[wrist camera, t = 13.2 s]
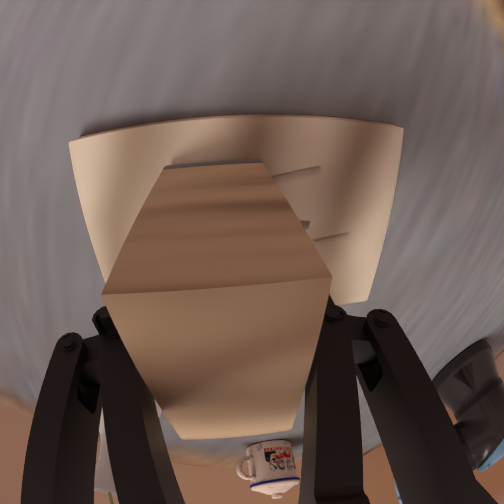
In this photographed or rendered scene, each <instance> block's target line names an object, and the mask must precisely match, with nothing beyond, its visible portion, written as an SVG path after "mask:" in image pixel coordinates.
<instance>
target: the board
mask: <svg viewBox="0 0 504 504" xmlns="http://www.w3.org/2000/svg"><path fill="white" fill-rule="evenodd" d="M403 132H404V128H401V127H398V126H395V125H392V124H386V123H379V122H372V121H364V120H356V119H347V118H336V117H324V116H307V115H274V114H260V115H226V116H210V117H197V118H186V119H177V120H169V121H161V122H154V123H147V124H141V125H135V126H129V127H123V128H118V129H113V130H108V131H103V132H99V133H94V134H90V135H86V136H82V137H78V138H76V139H74V140H72V141H70V142H69V148H70V154H71V160H72V165H73V171H74V175H75V180H76V185H77V189H78V194H79V198H80V202H81V206H82V210H83V214H84V217H85V221H86V225H87V228H88V231H89V235H90V238H91V241H92V245H93V248H94V251H95V254H96V257H97V260H98V263H99V266H100V269H101V272H102V274H103V277H104V280H105V282H107V280H108V277H109V275H110V273H111V270H112V268H113V266H114V263H115V261H116V259H117V257H118V255H119V252H120V250H121V248H122V246H123V244H124V242H125V240H126V237H127V235H128V233H129V231H130V229H131V227H132V225H133V223H134V221H135V219H136V217H137V215H138V213H139V212H140V210H141V208H142V206H143V204H144V202H145V200H146V198H147V197H148V195H149V193H150V191H151V189H152V187H153V186H154V184H155V182H156V180H157V179H158V177H159V175H160V173H161V172H162V170H163V168H164V167H165V166H168V165H177V164H187V163H199V162H212V161H227V160H247V159H261V161H262V162H263V164H264V165H265V167H266V168H267V170H268V172H269V173H270V175H271V176H272V178H273V179H274V181H275V182H276V184H277V185H278V187H279V189H280V190H281V192H282V193H283V195H284V196H285V198H286V200H287V201H288V203H289V204H290V206H291V208H292V209H293V211H294V212H295V214H296V216H297V217H298V219H299V221H300V222H301V224H302V225H303V227H304V229H305V230H306V232H307V234H308V235H309V237H310V239H311V240H312V242H313V244H314V245H315V247H316V249H317V251H318V252H319V254H320V256H321V257H322V259H323V261H324V263H325V264H326V266H327V268H328V270H329V271H330V273H331V275H332V277H333V278H332V282H331V287H330V292H329V294H330V296H331V298H332V300H333V302H334V304H335V305H342V304H349V303H355V302H362V301H367V299H368V296H369V293H370V290H371V287H372V283H373V280H374V276H375V273H376V270H377V266H378V262H379V259H380V255H381V251H382V247H383V243H384V239H385V235H386V231H387V227H388V222H389V218H390V213H391V208H392V203H393V198H394V193H395V188H396V182H397V176H398V170H399V163H400V156H401V149H402V141H403Z"/></svg>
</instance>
